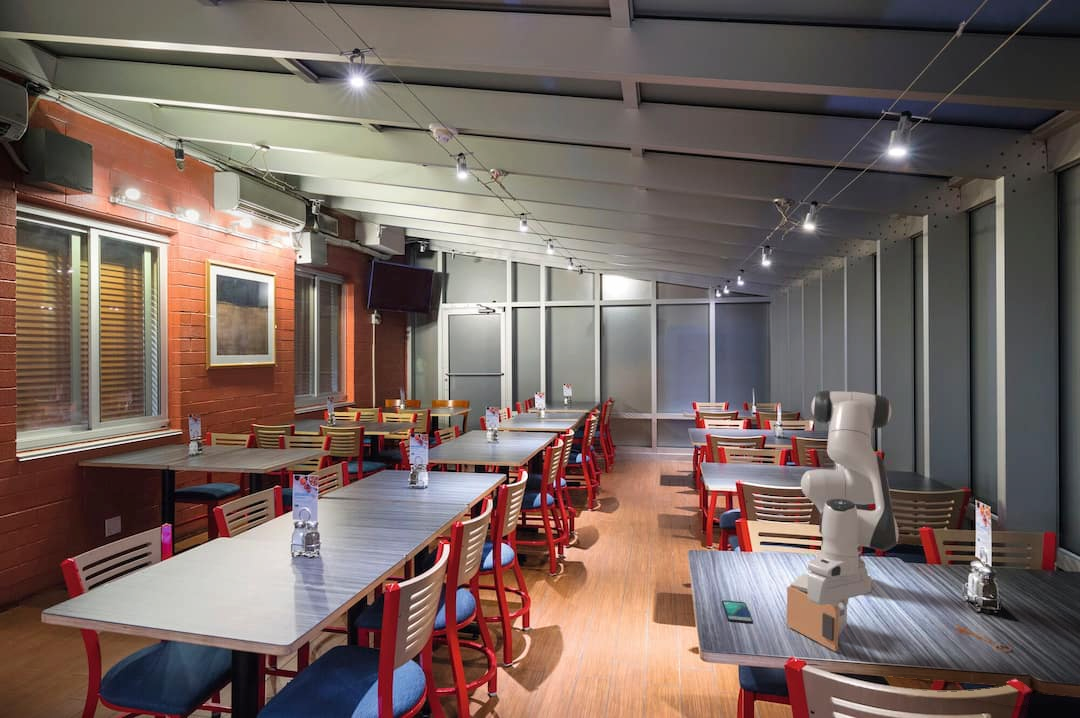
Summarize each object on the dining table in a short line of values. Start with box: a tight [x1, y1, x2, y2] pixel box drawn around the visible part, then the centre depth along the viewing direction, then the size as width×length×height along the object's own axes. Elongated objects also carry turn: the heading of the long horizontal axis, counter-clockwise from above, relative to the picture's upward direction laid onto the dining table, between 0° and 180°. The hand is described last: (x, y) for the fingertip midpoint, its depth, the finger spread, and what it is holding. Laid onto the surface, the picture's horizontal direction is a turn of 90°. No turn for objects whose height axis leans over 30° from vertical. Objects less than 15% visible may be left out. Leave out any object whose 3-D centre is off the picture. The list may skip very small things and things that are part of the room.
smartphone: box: [721, 599, 754, 625], centre depth 178 cm, size 7×1×15 cm
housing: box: [789, 573, 848, 637], centre depth 170 cm, size 12×12×12 cm
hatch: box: [786, 585, 839, 652], centre depth 161 cm, size 2×16×11 cm, turn 24°
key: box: [953, 625, 1012, 653], centre depth 163 cm, size 6×1×15 cm
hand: (838, 615), depth 156 cm, fingers closed
